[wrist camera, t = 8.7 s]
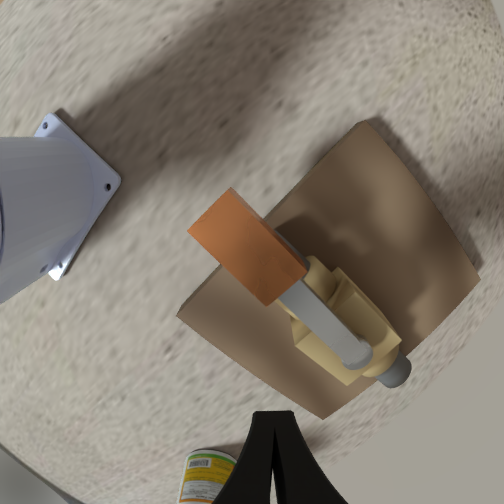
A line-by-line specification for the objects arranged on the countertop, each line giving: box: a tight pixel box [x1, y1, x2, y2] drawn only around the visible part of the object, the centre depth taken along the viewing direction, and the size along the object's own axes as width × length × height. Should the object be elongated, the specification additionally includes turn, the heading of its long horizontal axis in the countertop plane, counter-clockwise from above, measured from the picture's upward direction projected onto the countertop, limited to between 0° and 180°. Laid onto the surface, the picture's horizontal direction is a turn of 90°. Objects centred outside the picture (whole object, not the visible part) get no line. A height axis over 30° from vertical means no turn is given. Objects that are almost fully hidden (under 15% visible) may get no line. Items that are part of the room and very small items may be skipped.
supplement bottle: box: [176, 450, 237, 504], centre depth 21 cm, size 5×5×10 cm
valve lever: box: [187, 187, 373, 370], centre depth 13 cm, size 10×2×1 cm, turn 44°
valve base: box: [176, 120, 481, 420], centre depth 17 cm, size 16×14×5 cm
